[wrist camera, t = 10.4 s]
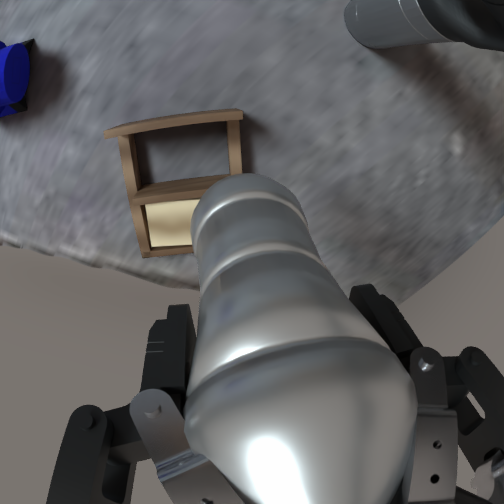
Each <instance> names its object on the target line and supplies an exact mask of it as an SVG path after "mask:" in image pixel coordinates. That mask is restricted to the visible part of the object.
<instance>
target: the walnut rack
mask: <svg viewBox="0 0 504 504" xmlns="http://www.w3.org/2000/svg"><path fill="white" fill-rule="evenodd" d="M241 119H243V111H242V110H239V109H237V108H235V109H222V110H211V111H201V112H193V113H185V114H177V115H170V116H164V117H158V118H152V119H146V120H141V121H135V122H130V123H126V124H121V125H119V126H116V127H113V128H111V129H108V130H105V131H104V138H105V139H108V138H113V137H118V143H119V149H120V156H121V162H122V168H123V173H124V179H125V184H126V189H127V194H128V199H129V204H130V208H131V213H132V217H133V222H134V226H135V230H136V234H137V239H138V243H139V247H140V250H141V254H142V258H149V257H158V256H167V255H176V254H184V253H193V252H194V251H193V246H192V245H174V246H156V247H152V246H151V240H150V233H149V227H148V220H147V212H146V207H145V205H146V204H153V203H160V202H167V201H175V200H183V199H191V198H199V197H202V196H203V194H204V193H205V192H206V191H207V190H208V189H209V187H211V186H212V185H213V184H215V183H216V182H217V181H219V180H221V179H223V178H226V177H228V176H231V175H235V174H242V163H241V146H240V129H239V120H241ZM216 121H226V127H227V142H228V156H229V170H230V174H225V175H215V176H206V177H197V178H189V179H181V180H174V181H166V182H159V183H152V184H146V185H142V183H141V178H140V172H139V166H138V159H137V153H136V146H135V139H134V133H138V132H143V131H149V130H155V129H161V128H167V127H174V126H181V125H189V124H197V123H206V122H216Z"/></svg>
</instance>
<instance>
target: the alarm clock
mask: <svg viewBox="0 0 504 504" xmlns="http://www.w3.org/2000/svg"><path fill="white" fill-rule="evenodd" d="M33 40H34V39H31V40H28V41H25V42H22V43H17V44H14V45H11V46H8V47H7V46H6V45H5V43H3V42H1V41H0V117H3V116H7V115H10V114H14V113H18V112H22V111H26V110H27V105H26V101H25V96H24V94H25V92H26V90H27V86H28V82H29V74H30V63H29V56H28V53H29V50H30V48H31V45H32V42H33Z"/></svg>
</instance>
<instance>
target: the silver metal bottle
mask: <svg viewBox="0 0 504 504" xmlns="http://www.w3.org/2000/svg"><path fill="white" fill-rule="evenodd" d="M190 234H191V240H192V246H193V251H194V254H195V257H196V259H197V264H198V273H199V282H200V302H199V316H198V329H197V337H196V342H195V348H194V353H193V358H192V364H191V369H190V375H189V380H188V386H187V391H186V397H185V405H184V408H183V419H184V421H185V426H184V432H185V435H186V438H187V440H188V443H189V445H190V448H191V450H192V452H193V453H194V454H198V453H199V454H203V455H204V456H206V457H207V458H208V459H209V460H211V461H212V462H213V463H214V465H215V466H216V467H217V469H218V470H219V471H220V473H221V474H222V475H223V477H224V478H225V479H226V481H227V482H228V483H229V485H230V486H231V487H232V488H233V490H234V491H235V492H236V494H237V495H238V496H239V497H240V499H241V500H242V501H243V502H244V503H245V504H390V502H391V501H392V499H393V497H394V495H395V494H396V492H397V490H398V487H399V485H400V483H401V481H402V478H403V476H404V471H405V468H406V465H407V462H408V458H409V455H410V451H411V446H412V441H413V435H414V429H415V423H416V417H417V407H418V402H417V396H416V390H415V384H414V382H413V380H412V378H411V377H410V375H409V374H408V372H407V371H406V369H405V368H404V366H403V365H402V363H401V362H400V360H399V359H398V357H397V356H396V354H395V353H393V352H392V351H391V350H390V348H389V346H388V345H387V344H386V342H385V341H384V340H383V339H382V338H381V336H380V335H379V334H378V333H377V332H376V330H375V329H374V328H373V327H372V326H371V325H370V323H369V322H368V321H367V320H366V319H365V317H364V316H363V315H362V314H361V313H360V312H359V310H358V309H357V308H356V307H355V306H354V305H353V303H352V302H351V301H350V300H349V299H348V298H347V297H346V295H345V294H344V292H343V291H342V289H341V288H340V286H339V285H338V283H337V282H336V280H335V279H334V277H333V276H332V275H331V273H330V272H329V270H328V269H327V267H326V266H325V265H324V263H323V262H322V260H321V258H320V256H319V254H318V251H317V249H316V247H315V245H314V242H313V240H312V238H311V236H310V234H309V229H308V224H307V220H306V217H305V215H304V212H303V210H302V207H301V205H300V203H299V201H298V200H297V198H296V197H295V195H294V194H293V193H292V192H291V191H290V190H288V189H287V188H286V187H285V186H283V185H281V184H280V183H278V182H276V181H274V180H273V179H271V178H269V177H266V176H263V175H260V174H253V173H242V174H235V175H231V176H228V177H226V178H223V179H221V180H219V181H217V182H216V183H215V184H213V185H212V186H211V187H209V189H208V190H207V191H206V192H205V193H204V194H203V196H202V197H201V199H200V201H199V202H198V204H197V206H196V207H195V209H194V211H193V215H192V218H191V223H190Z"/></svg>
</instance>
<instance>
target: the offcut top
mask: <svg viewBox="0 0 504 504" xmlns="http://www.w3.org/2000/svg"><path fill="white" fill-rule="evenodd" d="M200 199H201V197H199V198H191V199H183V200H175V201H167V202H160V203H153V204H146V212H147V220H148V227H149V233H150V240H151V246H152V247H156V246H174V245H192V240H191V234H190V223H191V218H192V215H193V211H194V209H195V207H196V206H197V204H198V202H199V201H200Z"/></svg>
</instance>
